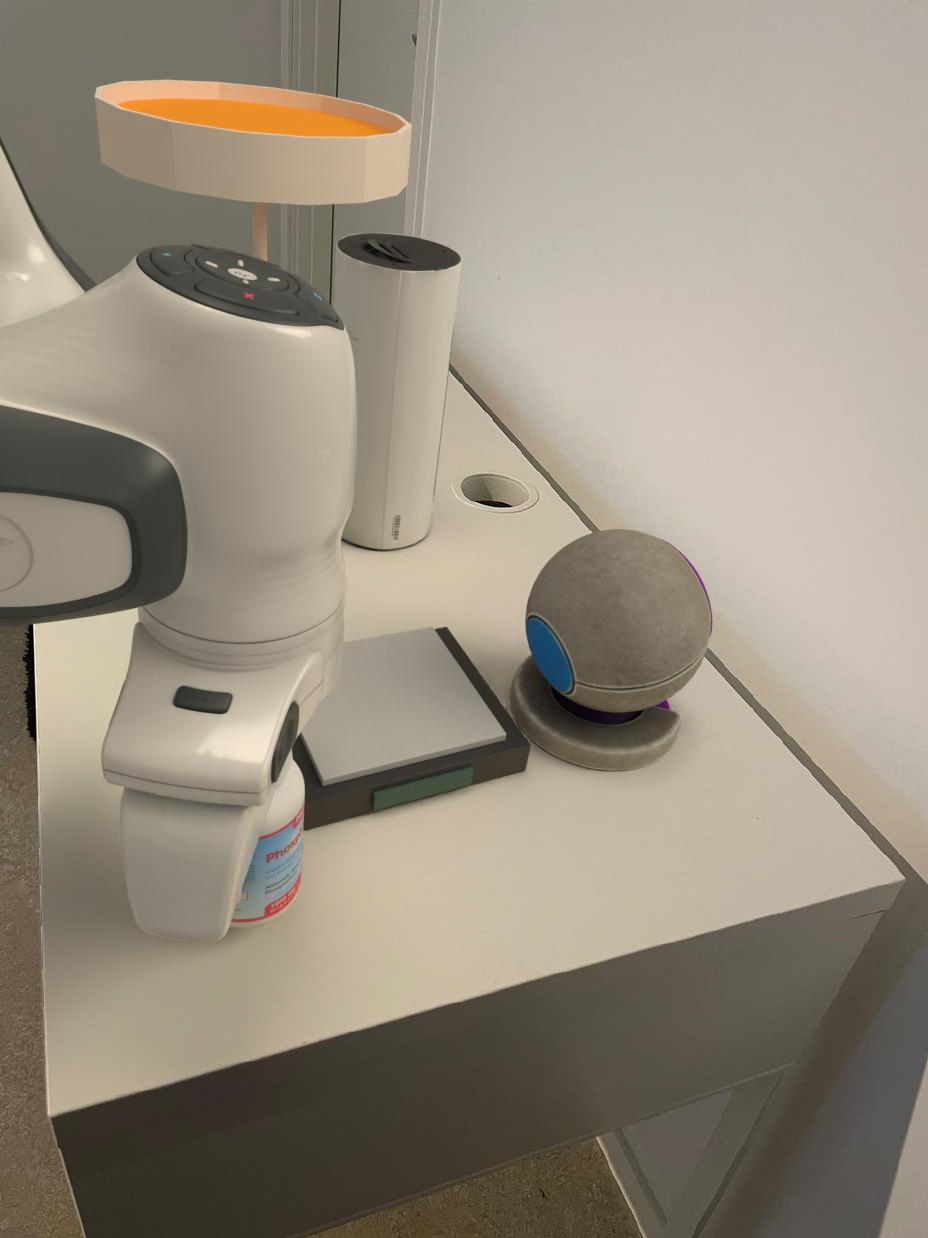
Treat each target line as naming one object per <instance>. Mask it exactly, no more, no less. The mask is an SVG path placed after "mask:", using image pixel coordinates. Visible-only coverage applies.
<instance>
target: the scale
mask: <svg viewBox="0 0 928 1238" xmlns="http://www.w3.org/2000/svg"><path fill="white" fill-rule="evenodd" d="M531 747H532V744H531V743H530V742H529V740H528V739H527V737H526V736H525V735H524V732H523V731H522V729H521V728H519V725H517V722H515V720H514V719H513V717H512V716H511V715H510V714H509V712H508V710H507V709H506V708H505V706H504V705H503V704H502V701H500V699H499V698H498V697H497V695H496V694H495V693H494V691H493V690H492V688H491V687H490V686H489V684H488V682H487V681H486V680H485V678H484V677H483V676H482V674H481V672H480V671H479V670H478V669H477V667H476V665H475V664H474V663H473V661H472V660H471V659H470V657H469V656H468V654H467V653H466V651H465V650H464V649H463V647H462V646H461V644H460V643H459V641H458V640H457V639H456V638H455V636H454V634H453V633H452V632H451V630H450V629H449V628H448V626H442V627H437V628H434V627H433V626H427V627H422V628H417V629H413V630H412V629H411V630H406V631H401V632H397V633H396V632H395V633H391V634H386V635H380V636H375V637H370V638H363V639H358V640H354V641H347V642H343V648H342V663H341V672H340V675H339V679H338V681H337V683H336V685H335V687H334V688H333V690H332V691H331V692H330V694H329V695H328V696H327V697H326V698H325V699H324V700H323V701H322V702H320V703H319V704H318V706H317V708H316V710H315V712H314V714H313V715H312V717H311V718H310V720H309V721H308V723H307V724H306V725H305V727H304V728H303V730H302V731H301V732H300V734H299V735H298V737H297V739H296V741H295V743H294V745H293V747H292V756H293V760H294V761H295V763H296V764H297V765H298V767H299V769H300V771H301V773H302V775H303V779H304V785H305V803H304V826H303V832H304V831H308V830H312V829H315V828H319V827H324V826H326V825H332V824H335V823H338V822H341V821H345V820H349V819H352V818H356V817H361V816H364V815H368V814H371V813H374V812H375V813H376V812H379V811H381V810H382V811H383V810H386V809H390V808H394V807H396V806H400V805H404V804H408V803H411V802H415V801H419V800H422V799H426V798H429V797H434V796H437V795H441V794H445V793H448V792H452V791H455V790H459V789H463V788H467V787H470V786H473V785H477V784H481V783H486V782H489V781H492V780H496V779H499V778H503V777H507V776H511V775H514V774H518V773H521V772H526V770H527V766H528V761H529V756H530V751H531Z"/></svg>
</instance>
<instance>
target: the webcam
mask: <svg viewBox="0 0 928 1238" xmlns="http://www.w3.org/2000/svg"><path fill="white" fill-rule="evenodd" d="M712 611H713V610H712V606H711V600H710V598H709V594H708V590H707V588H706V585H705V583H704V581H703V579H702V577H701V576H700V574H699V572H698V571H697V569H696V568H695V567H694V564H692V561H690V560H689V559H688V557H687V556H685V554H683V553H682V552H681V551H680V550H679V549H677V547H675V546H674V545H672V544H671V543H670V542H668V541H666V540H664V539H662V538H659V537H657V536H654V535H651V534H648V533H645V532H643V531H640V530H633V529H624V528H615V529H614V528H613V529H611V528H610V529H605V530H598V531H594V532H592V533H589V534H585V535H582V536H581V537H579V538H576V539H575V540H573V541H571V542H570V543H568V544H567V545H565V546H563V547H562V548H561V549H559V550H558V551H556V553H554V555H553V556H552V557H551V558H549V560H548V561H547V562H546V563H545V565H544V566H543V567H542V569H541V570H540V571H539V573H538V574H537V577H536V578H535V581H534V582H533V584H532V587H531V590H530V591H529V595H528V598H527V603H526V609H525V618H524V628H525V636H526V641H527V645H528V649H529V651H530V654H529V655H528V656H527V657H526V658H525V659H524V660H523V661H522V662H521V663H520V664H519V666H518V668H517V670H516V671H515V674H514V677H513V680H512V683H511V688H510V693H509V703H510V709H511V712H512V714H513V717H514V719H515V721H516V724H518V727H520V730H521V731H522V732H523V733H524V734H525V735H526V736H527V737H528V738H529V739H530V740H532V741H533V742H534V743H535V744H536V745H537V746H539V747H540V748H542V749H543V750H544V751H546V752H547V753H549V754H551V755H553V756H555V757H557V758H559V759H562V760H564V761H566V762H568V763H570V764H571V763H572V764H573V765H577V766H580V767H585V768H587V769H594V770H602V771H626V770H634V769H637V768H643V767H645V766H648V765H651V764H654V763H655V762H657V761H659V760H660V759H661V758H663V757H664V756H665V755H667V754H668V753H669V751H670V750H671V749H672V748H673V746H674V744H675V743H676V741H677V738H678V735H679V733H680V728H681V725H682V720H683V719H682V714H681V713H680V712H677V711H675V710H671V708H670V704H669V701H668V700H669V699H671V698H672V697H673V696H674V695H675V694H677V693H679V692H680V691H681V690H683V688H684V687H686V685H687V684H688V683H689V682H690V681H691V680H692V679H693V678H694V676H695V674H696V673H697V671H698V670H699V668H700V667H701V664H702V663H703V660H704V658H705V656H706V653H707V650H708V646H709V643H710V638H711V636H712V631H713V612H712Z"/></svg>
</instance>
